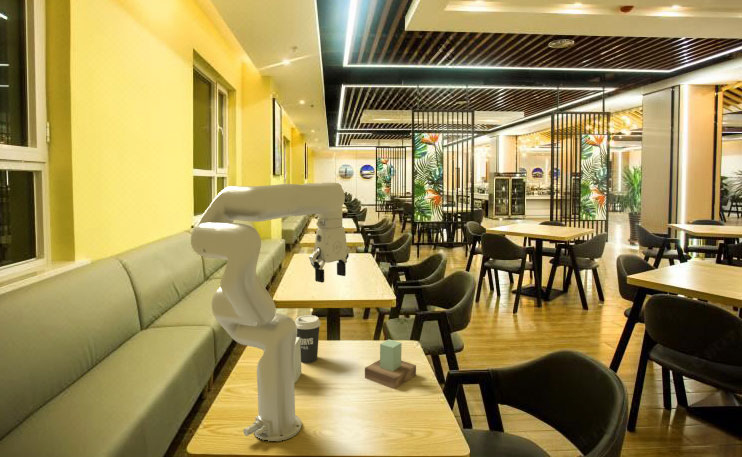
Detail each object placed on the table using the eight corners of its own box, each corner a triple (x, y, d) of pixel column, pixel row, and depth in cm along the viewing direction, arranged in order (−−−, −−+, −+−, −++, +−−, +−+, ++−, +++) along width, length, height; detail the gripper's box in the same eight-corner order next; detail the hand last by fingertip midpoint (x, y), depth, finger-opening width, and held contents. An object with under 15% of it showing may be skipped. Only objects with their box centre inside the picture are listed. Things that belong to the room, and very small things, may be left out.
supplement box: (302, 372, 160) (301, 336, 158) (296, 383, 152) (295, 345, 150) (280, 371, 160) (279, 336, 158) (273, 382, 153) (272, 344, 151)
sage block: (392, 371, 153) (392, 347, 151) (379, 367, 156) (380, 344, 154) (401, 366, 157) (401, 342, 155) (388, 362, 160) (388, 339, 158)
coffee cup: (292, 355, 173) (291, 315, 171) (318, 352, 176) (317, 313, 174) (296, 366, 164) (295, 324, 162) (324, 362, 167) (323, 321, 165)
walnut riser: (394, 390, 148) (394, 378, 148) (364, 379, 156) (364, 367, 155) (415, 376, 158) (416, 365, 157) (386, 366, 165) (386, 355, 165)
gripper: (319, 228, 136) (320, 286, 138) (357, 221, 149) (358, 274, 152) (300, 225, 140) (301, 282, 143) (339, 219, 154) (340, 271, 156)
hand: (330, 278), depth 147 cm, fingers open, 9 cm apart
